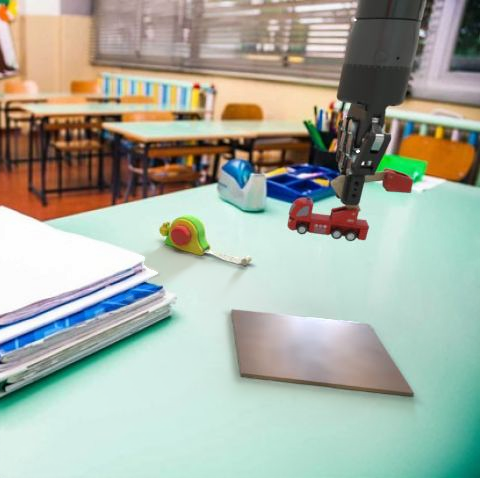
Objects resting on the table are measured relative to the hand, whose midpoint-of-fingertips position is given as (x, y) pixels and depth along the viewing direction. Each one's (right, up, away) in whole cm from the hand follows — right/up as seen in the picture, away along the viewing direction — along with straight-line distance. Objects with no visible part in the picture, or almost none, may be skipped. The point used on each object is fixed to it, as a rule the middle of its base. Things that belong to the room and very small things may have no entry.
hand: (346, 200), depth 65 cm
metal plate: (-4, -20, +1) cm, 20 cm away
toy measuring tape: (-14, -8, +32) cm, 35 cm away
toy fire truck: (0, -5, +2) cm, 5 cm away
